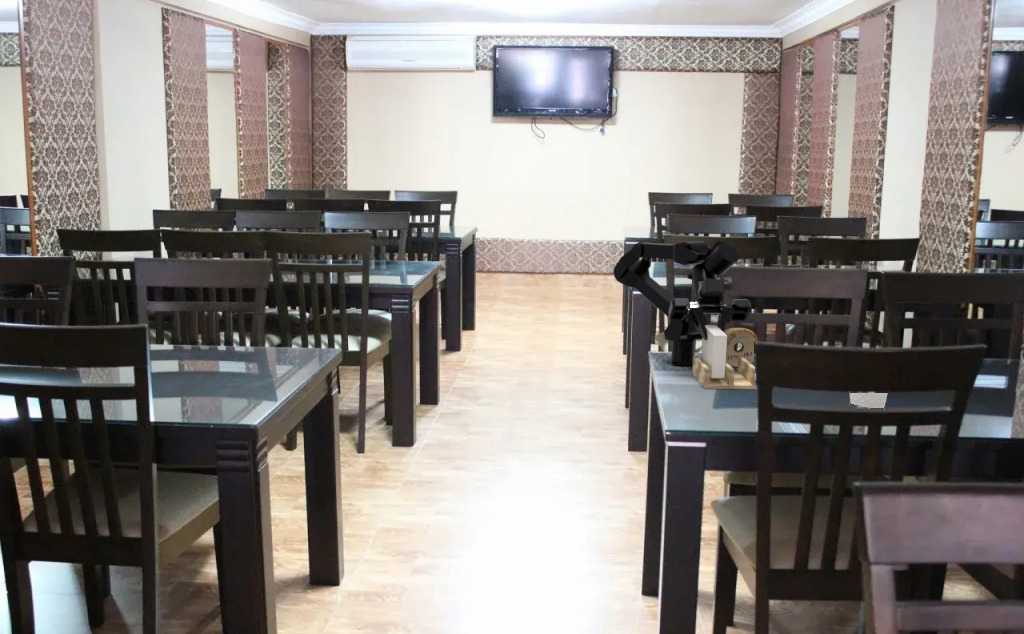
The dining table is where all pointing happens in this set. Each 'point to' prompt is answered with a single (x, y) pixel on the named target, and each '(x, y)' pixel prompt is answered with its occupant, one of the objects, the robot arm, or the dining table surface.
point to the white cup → (869, 399)
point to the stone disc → (746, 340)
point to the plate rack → (726, 375)
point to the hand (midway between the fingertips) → (713, 339)
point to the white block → (714, 351)
